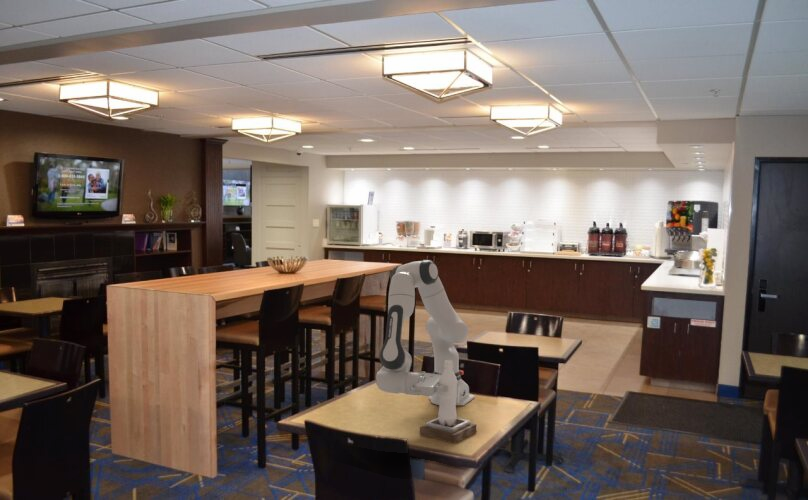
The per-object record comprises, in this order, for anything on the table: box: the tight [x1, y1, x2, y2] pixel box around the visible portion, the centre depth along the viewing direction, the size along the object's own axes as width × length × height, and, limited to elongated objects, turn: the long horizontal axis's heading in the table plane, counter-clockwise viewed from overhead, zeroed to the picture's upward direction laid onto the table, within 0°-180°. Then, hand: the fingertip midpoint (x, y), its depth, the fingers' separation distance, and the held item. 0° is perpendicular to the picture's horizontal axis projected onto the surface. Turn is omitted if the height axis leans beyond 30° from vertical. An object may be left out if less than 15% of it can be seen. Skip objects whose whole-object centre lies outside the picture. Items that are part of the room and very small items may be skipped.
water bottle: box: [437, 360, 458, 426], centre depth 252 cm, size 7×7×25 cm
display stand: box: [419, 417, 477, 444], centre depth 253 cm, size 16×16×4 cm
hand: (450, 386), depth 252 cm, fingers closed on water bottle, 7 cm apart
